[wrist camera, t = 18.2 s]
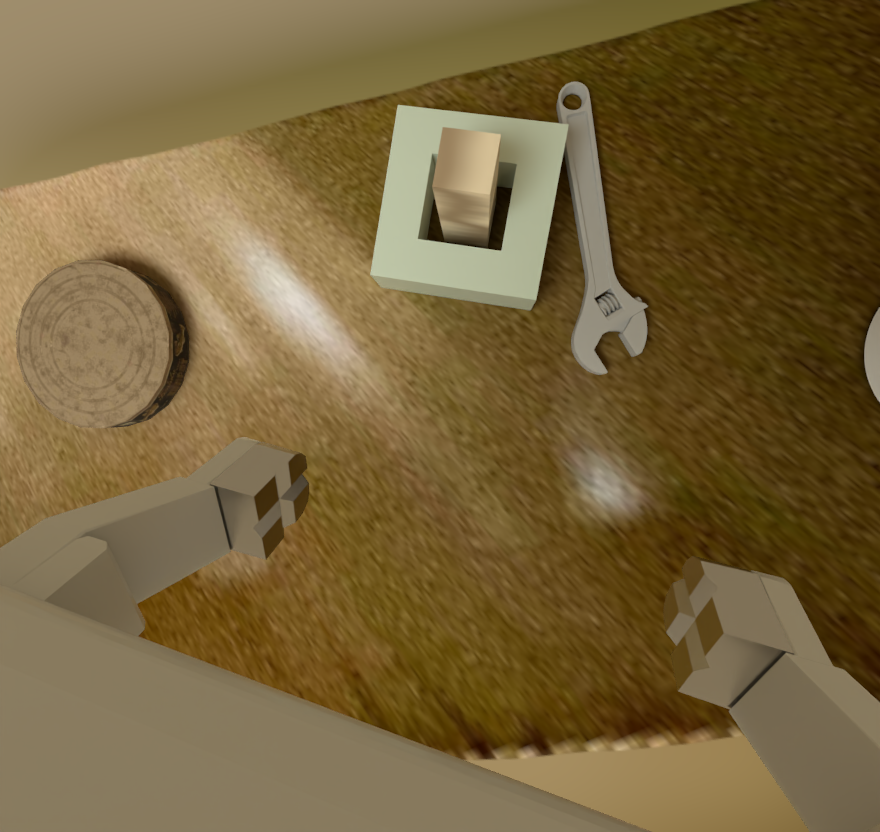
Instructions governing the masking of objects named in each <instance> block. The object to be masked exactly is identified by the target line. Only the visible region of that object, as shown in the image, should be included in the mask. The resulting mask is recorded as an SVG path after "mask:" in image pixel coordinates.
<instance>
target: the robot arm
mask: <svg viewBox="0 0 880 832" xmlns="http://www.w3.org/2000/svg"><path fill="white" fill-rule="evenodd" d="M864 361H865V369H866V374H867V378H868V381H869V384H870V386H871V388H872V391H873V393H874V394H875V396H876V398H877V399H878V401H879V402H880V307H879V309H878V311H877V312H876V314H875V316H874V318H873V320H872V322H871V324H870V327H869V330H868V333H867V337H866V342H865V349H864ZM306 469H307V463H306V456H304V455H303V454H302V453H299V452H296V451H292V450H289V449H285V448H282V447H279V446H275V445H272V444H268V443H265V442H259V441H256V440H253V439H249V438H246V437H242V438H237V439H236V440H234V441H233V442H232V443H231V444H229V445H228V446H227V447H225V448H224V449H223V450H222V451H220V452H219V453H218V454H217V455H215V456H214V457H213V458H212V459H210V460H209V461H208V462H206V463H205V464H204V465H203V466H201V467H200V468H199V469H198V470H196V471H195V472H194V473H193V474H191V475H190V476H189V477H187V478H183V477H178V478H174V479H171V480H168V481H165V482H161V483H158V484H155V485H152V486H149V487H145V488H142V489H139V490H136V491H132V492H129V493H126V494H123V495H120V496H116V497H113V498H110V499H107V500H103V501H100V502H97V503H94V504H91V505H87V506H84V507H81V508H78V509H74V510H71V511H68V512H65V513H62V514H58V515H55V516H52V517H49V518H45V519H44V520H42V521H41V522H39V523H38V524H36V525H35V526H33V527H31V528H30V529H28V530H27V531H25V532H24V533H22V534H21V535H19V536H18V537H16V538H15V539H13V540H12V541H10V542H9V543H7V544H6V545H4V546H3V547H1V548H0V832H651V831H648V830H646V829H643V828H640V827H638V826H635V825H632V824H630V823H627V822H625V821H622V820H619V819H617V818H614V817H612V816H609V815H606V814H604V813H601V812H598V811H596V810H593V809H590V808H588V807H585V806H583V805H580V804H577V803H575V802H572V801H570V800H567V799H564V798H562V797H559V796H556V795H554V794H551V793H549V792H546V791H543V790H540V789H538V788H535V787H533V786H530V785H527V784H525V783H522V782H520V781H517V780H514V779H512V778H509V777H506V776H504V775H501V774H499V773H496V772H493V771H491V770H488V769H485V768H482V767H480V766H477V765H475V764H472V763H470V762H467V761H464V760H462V759H459V758H457V757H454V756H451V755H449V754H446V753H443V752H441V751H438V750H436V749H433V748H430V747H428V746H425V745H422V744H420V743H417V742H415V741H412V740H409V739H407V738H404V737H401V736H399V735H396V734H394V733H391V732H388V731H386V730H383V729H380V728H378V727H375V726H372V725H370V724H367V723H365V722H362V721H359V720H357V719H354V718H351V717H349V716H346V715H344V714H341V713H338V712H336V711H333V710H330V709H328V708H325V707H323V706H320V705H317V704H315V703H312V702H309V701H307V700H304V699H302V698H299V697H296V696H294V695H291V694H288V693H286V692H283V691H280V690H278V689H275V688H273V687H270V686H267V685H265V684H262V683H259V682H257V681H254V680H252V679H249V678H246V677H244V676H241V675H238V674H236V673H233V672H230V671H228V670H225V669H223V668H220V667H217V666H215V665H212V664H209V663H207V662H204V661H202V660H199V659H196V658H194V657H191V656H188V655H186V654H183V653H180V652H178V651H175V650H173V649H170V648H167V647H165V646H162V645H159V644H157V643H154V642H152V641H149V640H146V639H144V638H141V637H138V636H139V634H140V633H141V632H142V631H143V630H144V629H145V620H144V618H143V616H142V614H141V612H140V610H139V608H138V606H137V604H138V603H139V602H141V601H143V600H145V599H147V598H148V597H150V596H152V595H154V594H156V593H157V592H159V591H161V590H163V589H165V588H166V587H168V586H170V585H172V584H174V583H175V582H177V581H179V580H181V579H183V578H184V577H186V576H188V575H190V574H192V573H193V572H195V571H197V570H199V569H201V568H202V567H204V566H206V565H208V564H210V563H211V562H213V561H215V560H217V559H219V558H220V557H222V556H224V555H226V554H228V553H229V552H230V550H234V551H237V552H241V553H244V554H248V555H251V556H255V557H258V558H262V559H265V560H266V559H267V558H268V557H269V555H270V554H271V553H272V552H273V550H274V549H275V548H276V547H277V545H278V544H279V543H280V541H281V540H282V539H283V538H284V527H286V526H289V525H291V524H293V523H295V522H296V521H297V520H298V519H299V517H300V516H301V515H302V513H303V511H304V509H305V507H306V504H307V502H308V497H309V483H308V482H307V480H306V479H305V477H304V476H303V475H302V473H303V472H304V471H305V470H306ZM682 571H683V575H684V579H683V580H680V581H678V582H675V583H673V584H672V586H671V587H670V589H669V591H668V593H667V595H666V600H665V604H664V623H665V629H666V633H667V634H668V635H669V637H670V638H671V639H672V640H673V642H674V643H675V644H676V645H677V646H676V647H675V649H674V650H673V652H672V653H671V660H672V665H673V670H674V675H675V680H676V685H677V690H678V691H679V692H682V693H684V694H687V695H690V696H693V697H696V698H699V699H702V700H705V701H707V702H710V703H713V704H716V705H719V706H722V707H725V708H728V709H730V710H729V713H730V714H731V716H732V717H733V719H734V720H735V722H736V723H737V725H738V726H739V727H740V729H741V730H742V732H743V733H744V735H745V736H746V738H747V739H748V741H749V742H750V744H751V745H752V747H753V748H754V749H755V751H756V753H757V754H758V756H759V757H760V759H761V760H762V761H763V763H764V764H765V766H766V767H767V769H768V770H769V772H770V773H771V775H772V776H773V778H774V779H775V781H776V782H777V783H778V785H779V786H780V788H781V790H782V791H783V793H784V794H785V795H786V797H787V798H788V800H789V801H790V803H791V804H792V806H793V807H794V809H795V810H796V812H797V813H798V815H799V816H800V818H801V819H802V821H803V822H804V824H805V825H806V826H807V828H808V829H809V831H810V832H880V702H878V701H877V700H876V699H875V698H874V697H873V696H872V695H871V694H870V693H869V692H868V691H867V690H865V689H864V688H863V687H862V686H861V685H860V684H859V683H858V682H857V681H856V680H855V679H853V678H852V677H851V676H850V675H849V674H848V673H847V672H846V671H845V670H843V669H840V668H837V667H833V665H832V663H831V661H830V659H829V657H828V655H827V654H826V652H825V650H824V648H823V646H822V644H821V642H820V640H819V638H818V636H817V634H816V632H815V631H814V629H813V627H812V625H811V623H810V621H809V619H808V617H807V615H806V613H805V611H804V609H803V608H802V606H801V604H800V602H799V600H798V598H797V596H796V594H795V592H794V590H793V588H792V586H791V585H790V584H789V583H788V582H787V581H786V580H785V579H784V578H780V577H776V576H772V575H768V574H764V573H760V572H756V571H749V570H747V569H743V568H739V567H735V566H731V565H727V564H723V563H719V562H715V561H711V560H708V559H704V558H700V557H696V556H692V557H691V558H689V559H688V560H687V561H686V563H685V564H684V566H683V567H682Z"/></svg>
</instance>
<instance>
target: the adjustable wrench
mask: <svg viewBox="0 0 880 832" xmlns="http://www.w3.org/2000/svg"><path fill="white" fill-rule="evenodd" d="M570 94H574V95H577V96H579V97H580V98H581V100H582V105H581V107H580V108H579V109H577V110H569V109H567V108H565V107H564V106H563V99H564V98H565V97H566V96H567V95H570ZM557 114H558V119H559V123H560V124H569V126H568V132H567V137H566V142H565V148H564V155H565V161H566V167H567V173H568V179H569V184H570V190H571V196H572V202H573V208H574V214H575V220H576V226H577V232H578V238H579V244H580V249H581V255H582V261H583V267H584V273H585V293H584V297H583V302H582V306H581V310H580V313H579V316H578V319H577V322H576V325H575V328H574V330H573V333H572V338H571V347H572V352H573V354H574V356H575V359H576V360H577V362H578V363H579V364H580V365H581V366H582V367H583V368H585V369H586V370H587V371H588V372H591V373H594V374H597V375H601V374H605V373H608V372H607V370H606V368H605V367H604V365H603V364H602V362H601V360H600V359H599V357H598V356H597V354H596V353H595V351H594V349H595V347H596V345H597V343H598V342H599V340H600V338H601V336H602V334H604V333H606V332H610V331H616V332H620V334H619V335H618V336H619V337H620V339H621V341H622V342H623V344H624V345H625V347H626V349H627V350H628V352H629V353H630V355H631V356H632V357H633V356H636V355H638V354H640V353H642V351H643V348H644V346H645V342H646V338H647V321H646V316H645V312H644V310H643V309H645V308H647V307H648V306H647V305H646V304H645V303H642V300H641V299H640V298H639V297H636V298H632V297H631V296H630V295H629V294H628V293H627V292H626V291H625V290H624V289H623V288H622V287H621V285H620V284H619V282H618V280H617V278H616V276H615V273H614V269H613V263H612V256H611V248H610V241H609V234H608V227H607V219H606V212H605V205H604V197H603V190H602V183H601V175H600V168H599V161H598V153H597V146H596V139H595V131H594V124H593V117H592V110H591V102H590V95H589V91H588V89H587V87H586V86H585V85H584V84H582V83H580V82H570V83H568V84H566V85H565V86H564V87H563V88H562V89H561V91H560V93H559V97H558V101H557ZM606 291H607V292H608V294H606V295H605V296H602V297H601V299H600V298H599V299H598V300H597V301H596V300H595V298H597V297H599V296H600V295H602V294H603V293H605V292H606ZM606 313H607V314H606Z"/></svg>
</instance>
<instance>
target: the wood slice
mask: <svg viewBox="0 0 880 832" xmlns="http://www.w3.org/2000/svg"><path fill="white" fill-rule="evenodd" d="M16 339H17V359H18V362H19V365H20V369H21V372H22V375H23V378H24V382H25V383H26V385H27V386H28V388H29V389H30V391H31V392H32V394H33V395H34V397H35V398H36V400H37V401H38V403H39V404H41V405H42V406H43V407H44V408H45V409H47V410H48V411H49V412H50V413H52V414H53V415H54V416H55V417H56V418H58V419H60V420H63V421H65V422H68V423H70V424H73V425H76V426H78V427H86V428H112V427H125V426H130V425H133V424H137V423H140V422H143V421H146V420H149V419H151V418H152V417H153V416H155V415H156V414H157V413H159V412H160V411H161V410H163V409H164V408H165V407H167V406H168V405H169V403H170V402H171V400H172V399H173V398H174V396H175V395H176V393H177V392H178V390H179V389H180V387H181V386H182V383H183V380H184V376H185V373H186V370H187V366H188V363H189V335H188V332H187V329H186V325H185V322H184V319H183V316H182V312H181V311H180V309H179V308H178V306H177V305H176V303H175V302H174V300H173V299H172V297H171V296H170V294H169V293H168V292H167V291H166V290H165V289H164V288H162V287H161V286H160V285H158V284H157V283H156V282H155V281H153V280H152V279H151V278H149V277H148V276H145V275H142V274H140V273H137V272H134V271H131V270H129V269H126V268H123V267H120V266H117V265H114V264H112V263H109V262H106V261H103V260H78V261H75V262H73V263H70V264H67V265H65V266H62V267H59V268H57V269H55V270H53V271H52V272H51V273H50V274H49V275H47V276H46V277H45V278H44V279H43V280H41V281H40V282H39V283H38V284H37V285H36V286H35V288H34V289H33V291H32V293H31V294H30V296H29V297H28V299H27V300H26V302H25V304H24V305H23V308H22V312H21V315H20V319H19V323H18V327H17V330H16Z"/></svg>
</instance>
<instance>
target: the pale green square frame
mask: <svg viewBox="0 0 880 832" xmlns="http://www.w3.org/2000/svg"><path fill="white" fill-rule="evenodd" d="M568 126H569V124H560V123H552V122H543V121H534V120H525V119H517V118H508V117H499V116H490V115H482V114H473V113H464V112H456V111H447V110H438V109H429V108H421V107H412V106H403V105H398V108H397V114H396V120H395V126H394V132H393V138H392V145H391V151H390V157H389V163H388V169H387V175H386V182H385V188H384V194H383V200H382V206H381V212H380V218H379V225H378V231H377V237H376V243H375V249H374V255H373V262H372V268H371V274H370V275H371V276H372V277H373V278H374V280H375V281H376V282H377V283H378V284H379V285H380V286H381V287H382V288H388V289H395V290H401V291H408V292H414V293H421V294H427V295H434V296H440V297H446V298H453V299H459V300H466V301H472V302H479V303H485V304H492V305H498V306H505V307H511V308H518V309H524V310H531V309H532V307H533V305H534V303H535V301H536V299H537V293H538V288H539V282H540V277H541V272H542V266H543V261H544V255H545V250H546V245H547V239H548V234H549V229H550V223H551V218H552V212H553V207H554V202H555V196H556V191H557V185H558V180H559V175H560V169H561V164H562V158H563V153H564V148H565V142H566V137H567V132H568ZM443 127H447V128H455V129H463V130H470V131H478V132H486V133H494V134H501V142H500V155H499V168H498V181H497V186H498V187H506V188H513V189H512V194H511V200H510V205H509V211H508V216H507V222H506V228H505V233H504V239H503V244H502V250H501V251H499V250H492V249H485V248H478V247H471V246H464V245H457V244H450V243H443V242H436V241H429V240H427V236H428V230H429V224H430V218H431V212H432V207H433V201H434V192H433V188H432V185H433V179H434V174H435V168H436V162H437V157H438V151H439V145H440V140H441V134H442V128H443Z"/></svg>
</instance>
